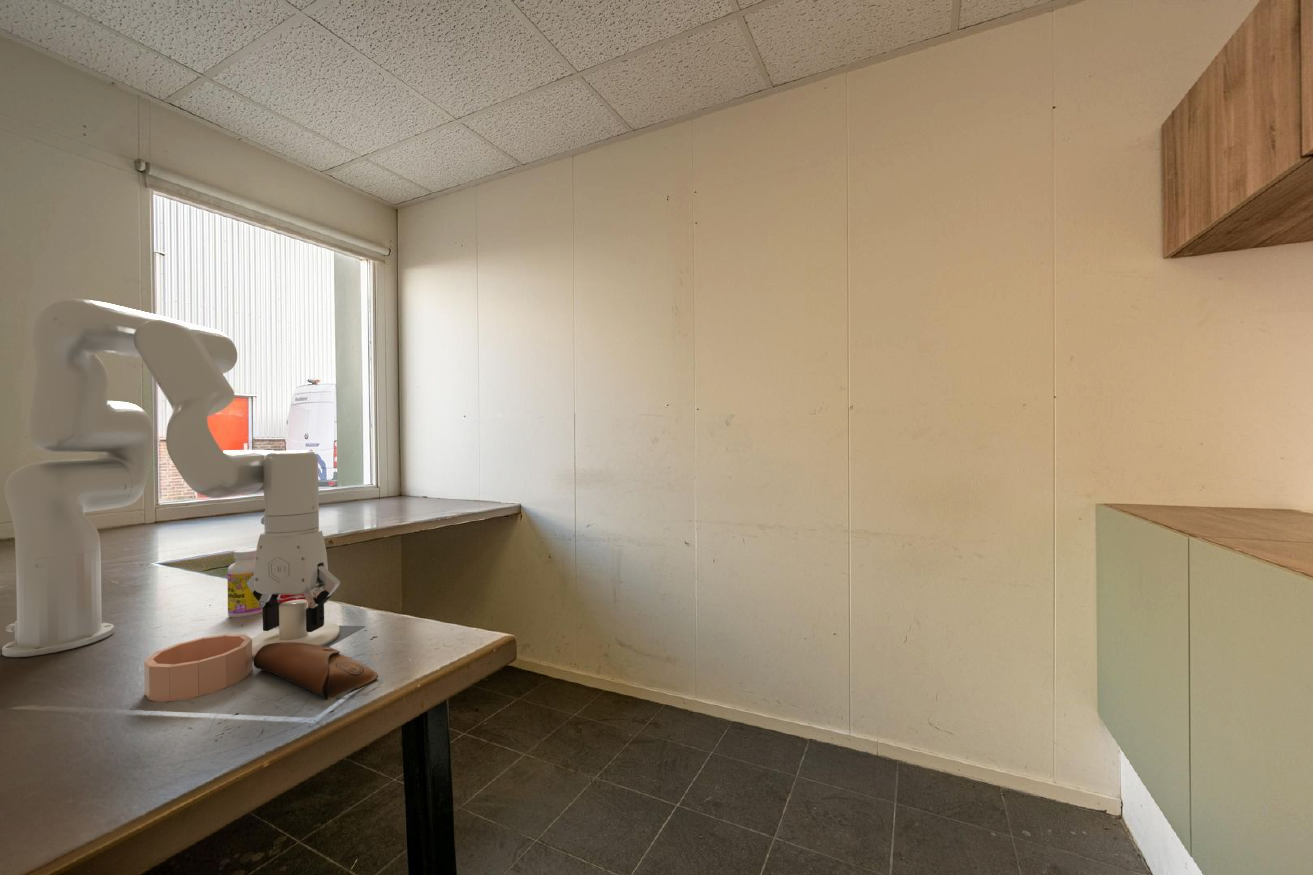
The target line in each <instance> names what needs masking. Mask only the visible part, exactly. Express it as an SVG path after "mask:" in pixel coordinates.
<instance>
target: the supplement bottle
mask: <svg viewBox="0 0 1313 875" xmlns="http://www.w3.org/2000/svg"><path fill="white" fill-rule="evenodd" d="M256 549H257V546H253V547H245V548H239V549H236V550H234V551H233V558H234V563H232V564H230V565H229V566H228V568H227V570H226V571H227V574H226V575H227V615H228V617H230V618H233V619H235V618H238V617H239V618H240V617H247V616H254V615H257V614H261V613H263V607H260V606H259V604H258V603H259V601H258V600H257V599H256V598H255V597H254V595H253V592H252V591H251V590H250V588H249V587H248V586H247V581H248V580H249V579H250V578H251V577H253V576H254V567H255V556H256Z"/></svg>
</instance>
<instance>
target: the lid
mask: <svg viewBox="0 0 1313 875" xmlns="http://www.w3.org/2000/svg"><path fill="white" fill-rule="evenodd" d="M307 608H308V602H307V600H305V599H300V600H292V601H287V602H284V603H281V604H280V605H279V626H278V627H276V628H273V629H271V630H269V631H263V632H262V633H259V634H257V635H254V636H253V637H251V638H252V657H253V658H254V657H255V655H256V654H257V652H258V651H259V650H260V649H261V648H262V647H263V646H265V645H267V644H271V643H280V642H295V643H307V644H313V645H319V646H324V645H326V644H328V643H330V642H332V641H333V640H335V639H336V638H337V637H338V636H339V626H340V625H339V624H337V623H335V622H331V621H330V622H329V621H324V625H323V627H321V628H319V629H317V630H315V631H313V632H307V631H306V609H307Z"/></svg>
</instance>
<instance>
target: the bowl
mask: <svg viewBox="0 0 1313 875" xmlns="http://www.w3.org/2000/svg"><path fill="white" fill-rule="evenodd" d="M252 638H253V637H250V636H248V635H247V634H246V633H245V634H244V633H241V634H239V633H237V634H236V633H225V634H219V635H212V636H204V637H203V636H202V637H200V638H195V639H192V640H191V639H190V640H187V641H182V642H180V643H176V644H173V645H171V646H168V647H165V648H163V649H160V650H158V651H155V652H154V653H152V654H151V655H150V656H148V657H147V658H145V659H144V662H143V664H144V665H143V666H144V671H143V672H144V674H143V675H144V694H145V696H146V698H147V699H148V700H149V701H152V702H153V701H154V702H177V701H183V700H188V699H194V698H198V697H201V696H205V695H208V694H212V693H216V692H218V691H221V690H223V689H225V688H228V687H230V686H233V685H236V683H239V682H241V681H242V680H243V679H245V678H246V677H247V676H249V674H251V671H252V670H253V662H252Z"/></svg>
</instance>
